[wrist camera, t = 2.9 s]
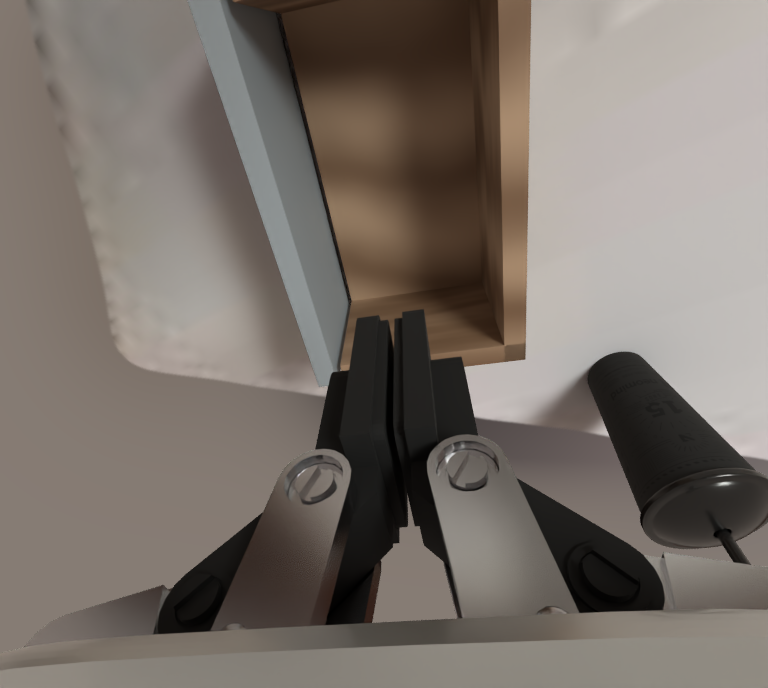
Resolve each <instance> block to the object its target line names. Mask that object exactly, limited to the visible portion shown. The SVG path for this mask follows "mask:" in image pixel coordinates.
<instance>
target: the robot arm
mask: <svg viewBox="0 0 768 688" xmlns="http://www.w3.org/2000/svg"><path fill="white" fill-rule="evenodd" d="M407 494H408V498H409V502H410V507H411V511H412V516H413V520H414V524H415V526H420V529H421V534H422V539H423V543H424V546H426V547H427V548H428V549H429V550H430V551H432V552H433V553H434V554H435V555H436V556H438V557H439V558H440V559H441V560H442V561H443V562H444V568H445V572H446V576H447V580H448V584H449V588H450V593H451V597H452V601H453V604H454V609H455V613H456V617H457V619H442V620H421V621H401V622H382V623H372V621H373V615H374V610H375V604H376V598H377V593H378V587H379V581H380V576H381V559H382V558H383V557H384V556H385V555H386V554H387V552H389V550H390V549H391V548H392V547H393V543H399V528H400V527H407V526H408V507H407ZM0 688H768V567H762V566H755V565H748V564H741V563H734V562H727V561H720V560H714V559H707V558H699V557H692V556H686V555H679V554H672V553H664V552H663V554H662V557H661V558H658V557H651V556H645V555H643V554H641V553H640V552H639V551H637V550H636V549H635V548H633V547H632V546H631V545H629V544H628V543H626V542H624V541H623V540H621V539H619V538H618V537H616V536H614V535H613V534H611V533H609V532H607V531H606V530H604V529H602V528H600V527H599V526H597V525H596V524H594V523H592V522H590V521H589V520H587V519H585V518H584V517H582V516H580V515H579V514H577V513H575V512H573V511H572V510H570V509H568V508H567V507H565V506H563V505H562V504H560V503H558V502H556V501H555V500H553V499H551V498H549V497H548V496H546V495H545V494H543V493H541V492H539V491H538V490H536V489H534V488H533V487H531V486H529V485H527V484H526V483H524V482H522V481H521V480H519V479H517V478H516V476H515V474H514V472H513V470H512V468H511V466H510V464H509V461H508V459H507V457H506V455H505V454H504V452H503V451H502V450H501V448H500V447H499V446H498V445H496V444H495V443H494V442H492V441H491V440H489V439H486V438H484V437H481V436H478V433H477V428H476V423H475V418H474V413H473V409H472V404H471V399H470V394H469V389H468V384H467V379H466V375H465V370H464V365H463V360H462V357H461V356H460V357H452V358H444V359H436V360H431V356H430V349H429V341H428V334H427V327H426V320H425V313H424V309H420V310H412V311H405V312H402V318H396V319H394V346H393V341H392V335H391V330H390V325H389V321H388V320H381V319H380V316H379V315H376V316H369V317H361V318H357V321H356V327H355V334H354V341H353V347H352V354H351V361H350V367H349V370H346V371H338V372H333V373H332V374H331V376H330V380H329V385H328V390H327V395H326V400H325V405H324V410H323V415H322V419H321V425H320V429H319V434H318V439H317V444H316V449H315V450H312V451H309V452H307V453H303V454H302V455H300V456H298V457H297V458H295V459H293V460H292V461H291V462H290V463H289V464H288V465H287V466H286V467H285V468H284V469H283V471H282V473H281V474H280V476H279V477H278V479H277V482H276V484H275V486H274V489H273V491H272V493H271V495H270V498H269V500H268V502H267V504H266V507H265V509H264V511H263V513H261V514H260V515H259V516H258V517H256V518H255V519H254V520H253V521H252V522H250V523H249V524H248V525H247V526H246V527H244V528H243V529H242V530H240V531H239V532H238V533H237V534H236V535H234V536H233V537H232V538H230V539H229V540H228V541H227V542H225V543H224V544H223V545H222V546H220V547H219V548H218V549H217V550H215V551H214V552H213V553H212V554H210V555H209V556H208V557H207V558H205V559H204V560H203V561H202V562H201V563H199V564H198V565H197V566H196V567H194V568H193V569H192V570H191V571H189V572H188V573H187V574H186V575H185V576H184V577H182V578H181V580H180V581H178V582H177V583H176V584H175V585H174V587H173V588H171V589H167V588H166V587H165V586H164V585H161V586H158V587H155V588H151V589H148V590H145V591H142V592H139V593H135V594H132V595H129V596H126V597H122V598H119V599H116V600H112V601H109V602H106V603H102V604H99V605H96V606H92V607H89V608H86V609H83V610H79V611H76V612H73V613H70V614H66V615H64V616H62V617H59V618H57V619H55V620H53V621H51V622H50V623H48V624H47V625H46V626H45V627H43V628H42V629H41V630H39V631H38V632H37V633H36V634H35V635H34V636H33V637H32V638H31V639H30V640H29V642H28V643H27V644H26V645H25V646H24V647H23V648H20V649H16V650H11V651H7V652H2V653H0Z"/></svg>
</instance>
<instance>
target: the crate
mask: <svg viewBox="0 0 768 688" xmlns="http://www.w3.org/2000/svg"><path fill="white" fill-rule="evenodd" d="M233 2H235V3H239V4H243V5H247V6H251V7H255V8H259V9H263V10H267V11H271V12H276V13H280V14H281V17H282V21H283V25H284V29H285V33H286V37H287V41H288V45H289V49H290V53H291V57H292V61H293V65H294V69H295V73H296V77H297V81H298V86H299V90H300V94H301V98H302V102H303V106H304V110H305V114H306V118H307V122H308V126H309V130H310V134H311V138H312V142H313V146H314V150H315V154H316V158H317V162H318V166H319V170H320V174H321V179H322V183H323V187H324V191H325V195H326V199H327V203H328V207H329V211H330V215H331V219H332V223H333V227H334V231H335V235H336V239H337V243H338V247H339V251H340V255H341V259H342V263H343V267H344V272H345V276H346V280H347V284H348V288H349V292H350V296H351V300H352V303H351V308H350V314H349V319H348V325H347V331H346V336H345V342H344V347H343V353H342V359H341V364H340V367H341V370H342V371H346V370H349V367H350V361H351V354H352V347H353V341H354V334H355V327H356V321H357V318H361V317H369V316H376V315H379V316H380V319H381V320H388V321H389V325H390V330H391V335H392V341H393V346H394V319H396V318H402V312H405V311H412V310H420V309H424V313H425V320H426V327H427V334H428V341H429V349H430V356H431V360H436V359H444V358H452V357H460V356H461V357H462V360H463V365H464V367H465V366H474V365H482V364H491V363H499V362H508V361H516V360H524V359H525V349H526V287H527V224H528V161H529V98H530V35H531V0H233Z"/></svg>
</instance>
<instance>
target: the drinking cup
mask: <svg viewBox="0 0 768 688" xmlns="http://www.w3.org/2000/svg"><path fill="white" fill-rule="evenodd" d="M588 384H589V387H590V389H591V392H592V394H593V396H594V399H595V401H596V404H597V406H598V409H599V411H600V414H601V416H602V419H603V421H604V424H605V426H606V429H607V431H608V433H609V436H610V438H611V441H612V443H613V446H614V448H615V451H616V453H617V456H618V458H619V461H620V463H621V466H622V468H623V471H624V473H625V475H626V478H627V480H628V483H629V485H630V488H631V490H632V493H633V495H634V498H635V500H636V503H637V505H638V507H639V510H640V512H641V514H640V523H641V526H642V528H643V530H644V532H645V534H646V535H647V536H648V537H649V538H650V539H651V540H653V541H654V542H656V543H658V544H661V545H663V546H667V547H671V548H678V549H699V548H709V547H718V546H724V548H725V549H726V551H727V553H728V554H729V556H730V557H731V559H732V560H733V562H734V563H741V564H748V565H751V564H750V562H749V561H748V559H747V558H746V556H745V555H744V554H743V552H742V550H741V549H740V548H739V546H738V545H737V543H736V541H738V540H740V539H742V538H744V537H746V536H748V535H749V534H751V533H753V532H755V531H756V530H758V529H759V528H761V527H762V526H764V525H765V524H766V523H767V522H768V477H767V476H766V475H764V474H762V473H760V472H757V471H756V470H755V469H754V468H753V467H752V466H750V464H749V463H747V461H746V460H745V459H744V458H743V457H742V456H741V455H740V454H739V453H738V452H737V451H736V450H735V449H734V448H732V447H731V446H730V445H729V444H728V443H727V442H726V441H725V440H724V439H723V438H722V437H721V436H720V435H719V434H718V433H717V432H716V431H715V430H714V429H713V428H712V427H711V426H710V425H709V424H708V423H707V422H706V421H705V420H704V419H703V418H702V417H701V416H700V415H699V414H698V413H697V412H696V411H695V410H694V409H693V408H692V407H691V406H690V405H689V404H688V403H687V402H686V401H685V400H684V399H683V398H682V397H681V396H680V395H679V394H678V393H677V392H676V391H675V390H674V389H673V388H672V387H671V386H670V385H669V384H668V383H667V382H666V381H665V380H664V379H663V378H662V377H661V376H660V375H659V374H658V373H657V372H656V371H655V370H654V369H653V368H652V367H651V366H650V365H649V364H648V363H647V362H646V361H645V360H644V359H643V358H642V357H641V356H639V355H638V354H635V353H632V352H617V353H613V354H610V355H608V356H606V357H604V358H602V359H600V360H599V361H598V362H597V363H596V364H595V365H594V366H593V367H592V368H591V370H590V372H589V374H588Z"/></svg>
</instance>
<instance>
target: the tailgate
mask: <svg viewBox="0 0 768 688" xmlns="http://www.w3.org/2000/svg"><path fill="white" fill-rule="evenodd" d="M187 1H188V4H189V7H190V10H191V12H192V15H193V18H194V21H195V24H196V27H197V30H198V33H199V36H200V39H201V42H202V45H203V48H204V51H205V54H206V57H207V59H208V62H209V65H210V68H211V71H212V74H213V77H214V80H215V83H216V86H217V89H218V92H219V95H220V98H221V101H222V103H223V106H224V109H225V112H226V115H227V118H228V121H229V124H230V127H231V130H232V133H233V136H234V139H235V142H236V145H237V147H238V150H239V153H240V156H241V159H242V162H243V165H244V168H245V171H246V174H247V177H248V180H249V183H250V186H251V189H252V191H253V194H254V197H255V200H256V203H257V206H258V209H259V212H260V215H261V218H262V221H263V224H264V227H265V230H266V233H267V236H268V238H269V241H270V244H271V247H272V250H273V253H274V256H275V259H276V262H277V265H278V268H279V271H280V274H281V277H282V280H283V282H284V285H285V288H286V291H287V294H288V297H289V300H290V303H291V306H292V309H293V312H294V315H295V318H296V321H297V324H298V326H299V329H300V332H301V335H302V338H303V341H304V344H305V347H306V350H307V353H308V356H309V359H310V362H311V365H312V368H313V370H314V373H315V376H316V379H317V382H318V385H319V387H322V386H328V385H329V380H330V376H331V374H332V373H333V372H338V371H340V370H341V367H340V364H341V359H342V353H343V347H344V342H345V336H346V331H347V325H348V319H349V314H350V305H349V301H348V297H347V293H346V289H345V285H344V281H343V277H342V273H341V269H340V265H339V261H338V257H337V253H336V250H335V246H334V242H333V238H332V234H331V230H330V226H329V222H328V218H327V214H326V210H325V206H324V202H323V198H322V194H321V190H320V186H319V182H318V178H317V174H316V170H315V166H314V162H313V158H312V154H311V150H310V146H309V143H308V139H307V135H306V131H305V127H304V123H303V119H302V115H301V111H300V107H299V103H298V99H297V95H296V91H295V87H294V83H293V79H292V75H291V71H290V67H289V63H288V59H287V55H286V51H285V47H284V43H283V39H282V35H281V32H280V28H279V24H278V20H277V16H276V12H271V11H267V10H263V9H259V8H255V7H251V6H247V5H243V4H239V3H235V2H233V0H187Z"/></svg>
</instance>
